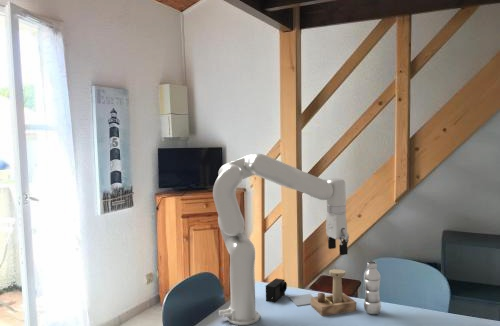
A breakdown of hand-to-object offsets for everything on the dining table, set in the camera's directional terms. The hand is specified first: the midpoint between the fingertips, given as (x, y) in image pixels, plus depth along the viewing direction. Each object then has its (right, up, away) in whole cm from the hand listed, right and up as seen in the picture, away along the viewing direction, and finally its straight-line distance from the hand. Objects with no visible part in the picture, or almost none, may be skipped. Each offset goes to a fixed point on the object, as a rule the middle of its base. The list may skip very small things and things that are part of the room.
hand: (337, 251), depth 163 cm
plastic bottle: (+13, -23, -5) cm, 27 cm away
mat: (-12, -23, +10) cm, 28 cm away
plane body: (-2, -23, +1) cm, 23 cm away
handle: (0, -23, +1) cm, 23 cm away
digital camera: (-24, -24, +13) cm, 36 cm away
